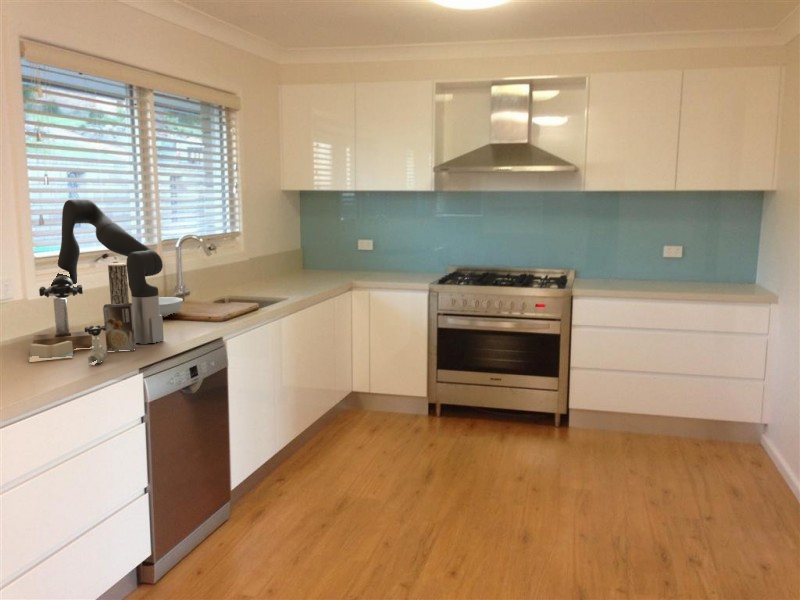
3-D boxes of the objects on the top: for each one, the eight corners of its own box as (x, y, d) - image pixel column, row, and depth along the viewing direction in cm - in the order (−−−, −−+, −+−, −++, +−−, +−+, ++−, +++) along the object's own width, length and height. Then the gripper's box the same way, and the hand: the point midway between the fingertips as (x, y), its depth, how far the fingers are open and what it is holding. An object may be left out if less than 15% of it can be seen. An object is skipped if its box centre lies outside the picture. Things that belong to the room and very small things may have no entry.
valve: (112, 360, 223) (109, 325, 221) (104, 366, 217) (101, 329, 215) (91, 361, 223) (88, 325, 221) (83, 366, 216) (80, 329, 214)
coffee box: (136, 347, 242) (133, 302, 239) (134, 351, 235) (131, 305, 233) (108, 348, 239) (104, 303, 236) (106, 353, 233) (102, 307, 230)
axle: (73, 348, 240) (68, 297, 237) (64, 350, 236) (59, 299, 233) (64, 347, 241) (59, 297, 238) (55, 350, 237) (50, 299, 234)
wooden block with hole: (92, 344, 246) (91, 330, 245) (92, 349, 239) (91, 335, 238) (36, 349, 238) (34, 335, 238) (34, 354, 231) (33, 340, 230)
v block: (31, 355, 230) (29, 342, 229) (73, 351, 235) (72, 338, 234) (28, 362, 221) (27, 349, 220) (73, 358, 226) (72, 345, 225)
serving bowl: (191, 311, 306) (190, 296, 305) (171, 321, 285) (170, 305, 284) (147, 310, 308) (146, 295, 307) (124, 320, 287) (122, 304, 286)
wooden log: (111, 326, 275) (106, 265, 270) (113, 323, 281) (109, 263, 277) (129, 325, 276) (125, 264, 272) (131, 322, 283) (127, 262, 278)
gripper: (40, 277, 256) (37, 284, 242) (82, 276, 262) (81, 282, 248) (42, 297, 258) (39, 305, 243) (83, 295, 264) (83, 302, 249)
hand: (60, 293), depth 246 cm, fingers open, 8 cm apart
